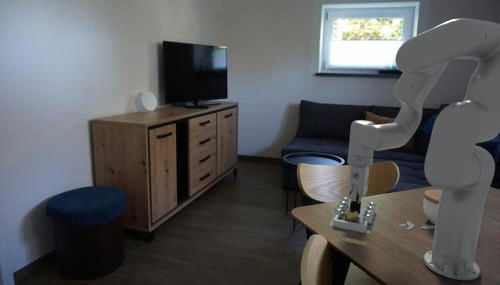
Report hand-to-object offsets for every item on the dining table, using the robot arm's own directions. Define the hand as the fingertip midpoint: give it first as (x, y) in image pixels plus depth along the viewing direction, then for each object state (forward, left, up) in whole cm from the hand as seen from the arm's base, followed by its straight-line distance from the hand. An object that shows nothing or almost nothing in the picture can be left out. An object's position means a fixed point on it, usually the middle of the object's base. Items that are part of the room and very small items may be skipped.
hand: (354, 213), depth 119 cm
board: (-1, 0, -2) cm, 2 cm away
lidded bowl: (+11, -26, -2) cm, 28 cm away
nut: (-4, 0, -1) cm, 4 cm away
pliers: (+4, -18, -3) cm, 19 cm away
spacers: (+1, 0, -1) cm, 2 cm away
